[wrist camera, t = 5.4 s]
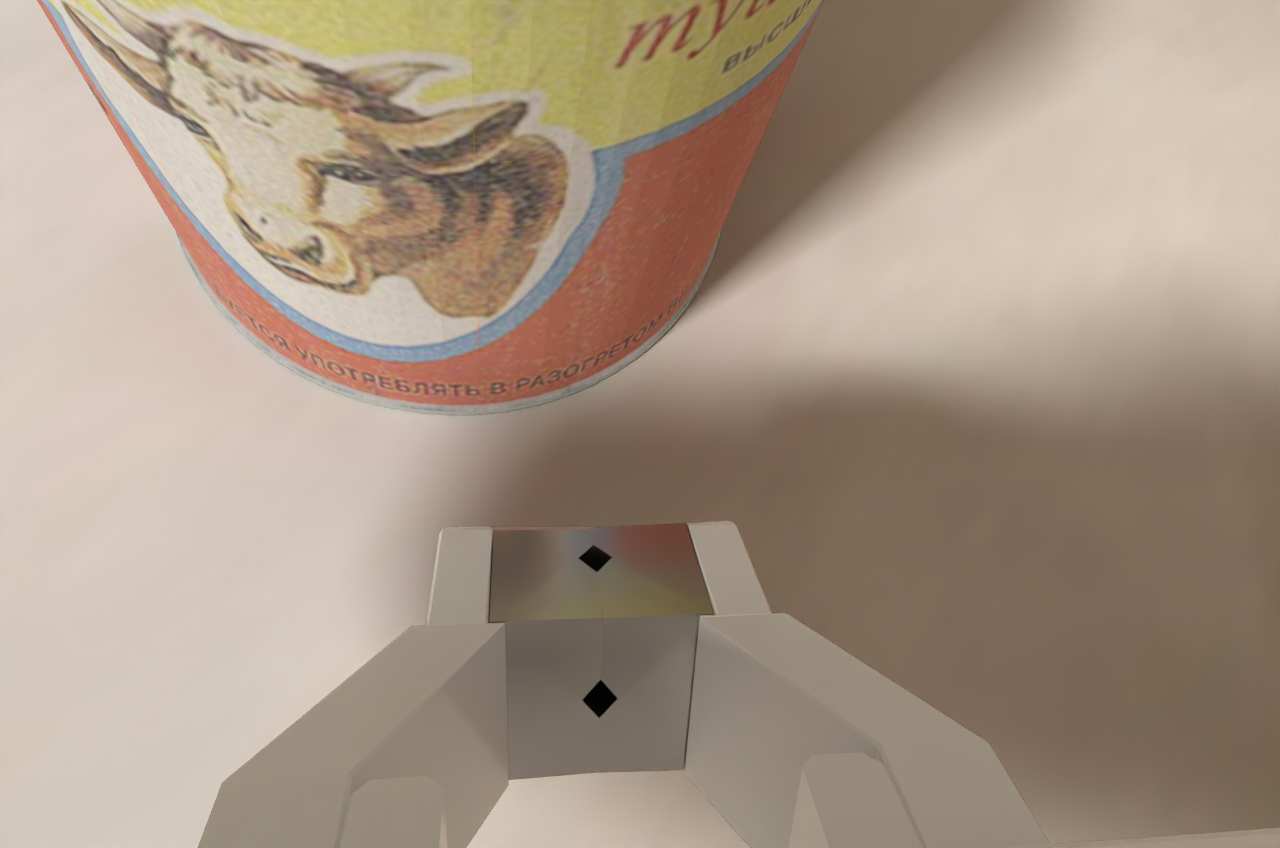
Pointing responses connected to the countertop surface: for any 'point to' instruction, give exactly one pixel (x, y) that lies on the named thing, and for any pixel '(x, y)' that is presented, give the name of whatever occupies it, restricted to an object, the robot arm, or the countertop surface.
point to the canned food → (443, 173)
